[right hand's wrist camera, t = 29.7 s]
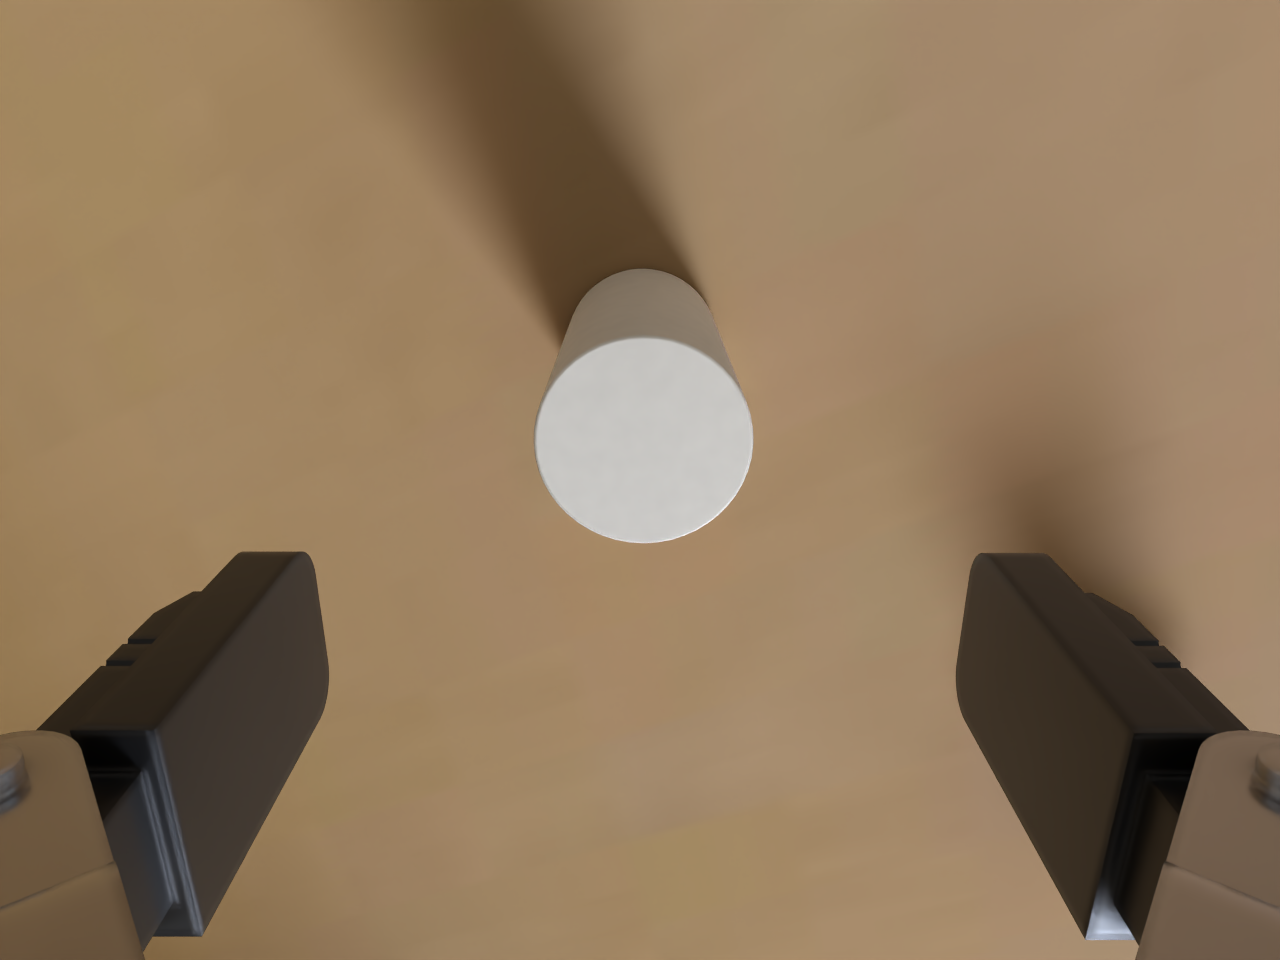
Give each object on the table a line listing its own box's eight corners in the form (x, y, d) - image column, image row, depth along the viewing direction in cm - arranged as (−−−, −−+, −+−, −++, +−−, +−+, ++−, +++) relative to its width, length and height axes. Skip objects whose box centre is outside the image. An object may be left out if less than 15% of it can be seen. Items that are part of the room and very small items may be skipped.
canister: (708, 258, 25) (743, 320, 17) (724, 406, 27) (762, 530, 18) (556, 279, 25) (514, 351, 17) (580, 424, 27) (553, 556, 19)
